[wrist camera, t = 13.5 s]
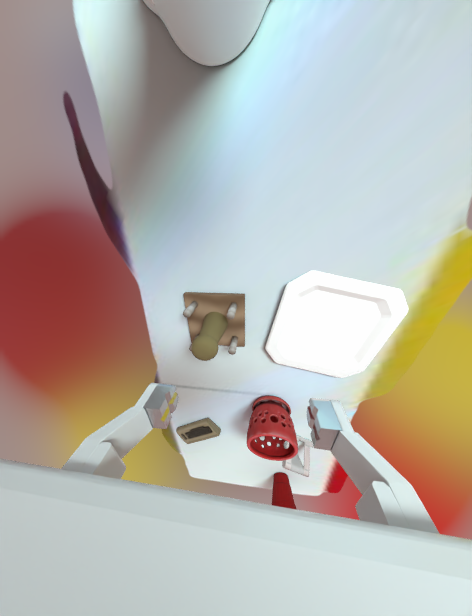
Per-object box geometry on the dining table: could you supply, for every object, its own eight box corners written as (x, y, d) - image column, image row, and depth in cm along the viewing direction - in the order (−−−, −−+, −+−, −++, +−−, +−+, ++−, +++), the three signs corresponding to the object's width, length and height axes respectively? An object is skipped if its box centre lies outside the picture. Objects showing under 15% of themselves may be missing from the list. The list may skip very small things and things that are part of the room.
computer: (208, 415, 62) (205, 425, 59) (221, 428, 65) (219, 437, 62) (177, 425, 68) (174, 434, 65) (191, 436, 70) (188, 445, 67)
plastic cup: (293, 483, 76) (298, 525, 65) (268, 479, 78) (269, 520, 67) (295, 471, 71) (302, 515, 61) (269, 467, 73) (270, 510, 62)
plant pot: (259, 385, 51) (259, 428, 41) (299, 400, 52) (309, 446, 42) (243, 409, 57) (239, 452, 47) (278, 422, 58) (283, 467, 48)
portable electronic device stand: (311, 439, 60) (319, 470, 53) (299, 449, 64) (304, 479, 56) (290, 431, 60) (294, 460, 52) (278, 441, 63) (280, 470, 56)
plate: (352, 375, 46) (356, 382, 44) (261, 354, 46) (261, 360, 44) (413, 290, 34) (423, 294, 32) (291, 263, 35) (293, 266, 33)
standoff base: (185, 292, 40) (173, 303, 35) (244, 293, 39) (242, 305, 33) (193, 340, 47) (184, 356, 41) (244, 343, 45) (242, 360, 39)
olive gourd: (207, 333, 44) (191, 366, 34) (200, 312, 41) (182, 341, 31) (230, 332, 42) (221, 365, 33) (225, 310, 40) (214, 339, 30)
